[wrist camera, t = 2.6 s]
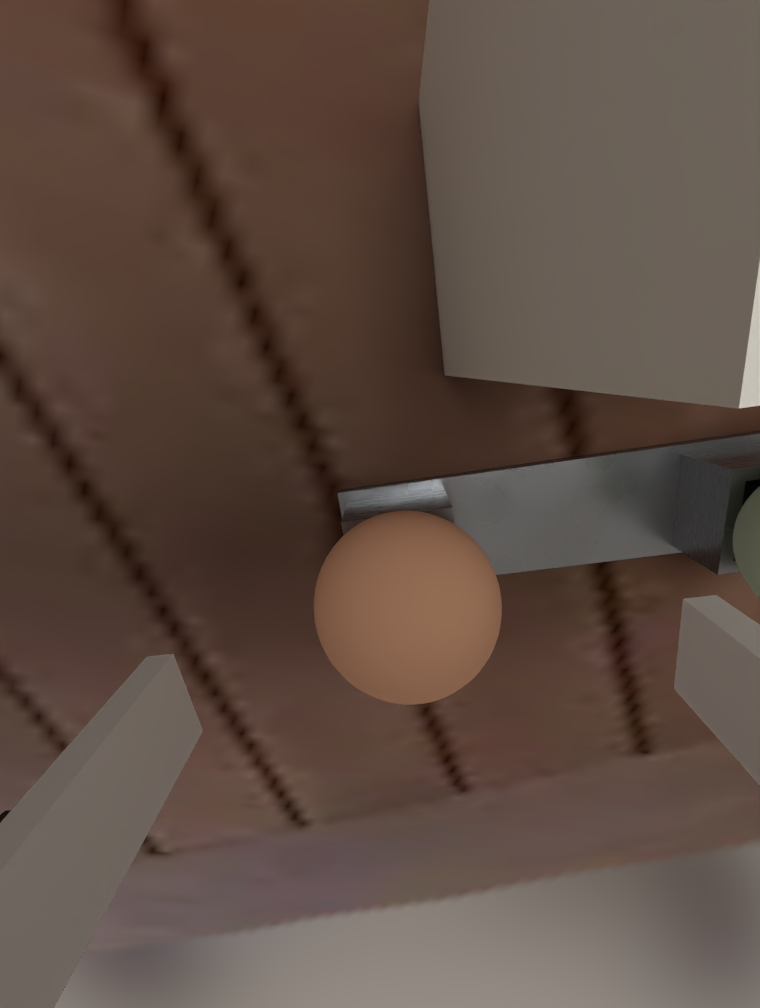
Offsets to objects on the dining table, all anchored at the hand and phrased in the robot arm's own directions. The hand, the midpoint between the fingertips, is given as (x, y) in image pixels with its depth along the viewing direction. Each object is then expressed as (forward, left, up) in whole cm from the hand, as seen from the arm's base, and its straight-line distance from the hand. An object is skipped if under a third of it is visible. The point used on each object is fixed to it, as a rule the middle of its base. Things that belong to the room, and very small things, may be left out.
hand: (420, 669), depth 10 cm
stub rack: (0, +7, -8) cm, 11 cm away
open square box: (-11, +7, -8) cm, 16 cm away
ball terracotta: (0, 0, -6) cm, 6 cm away
